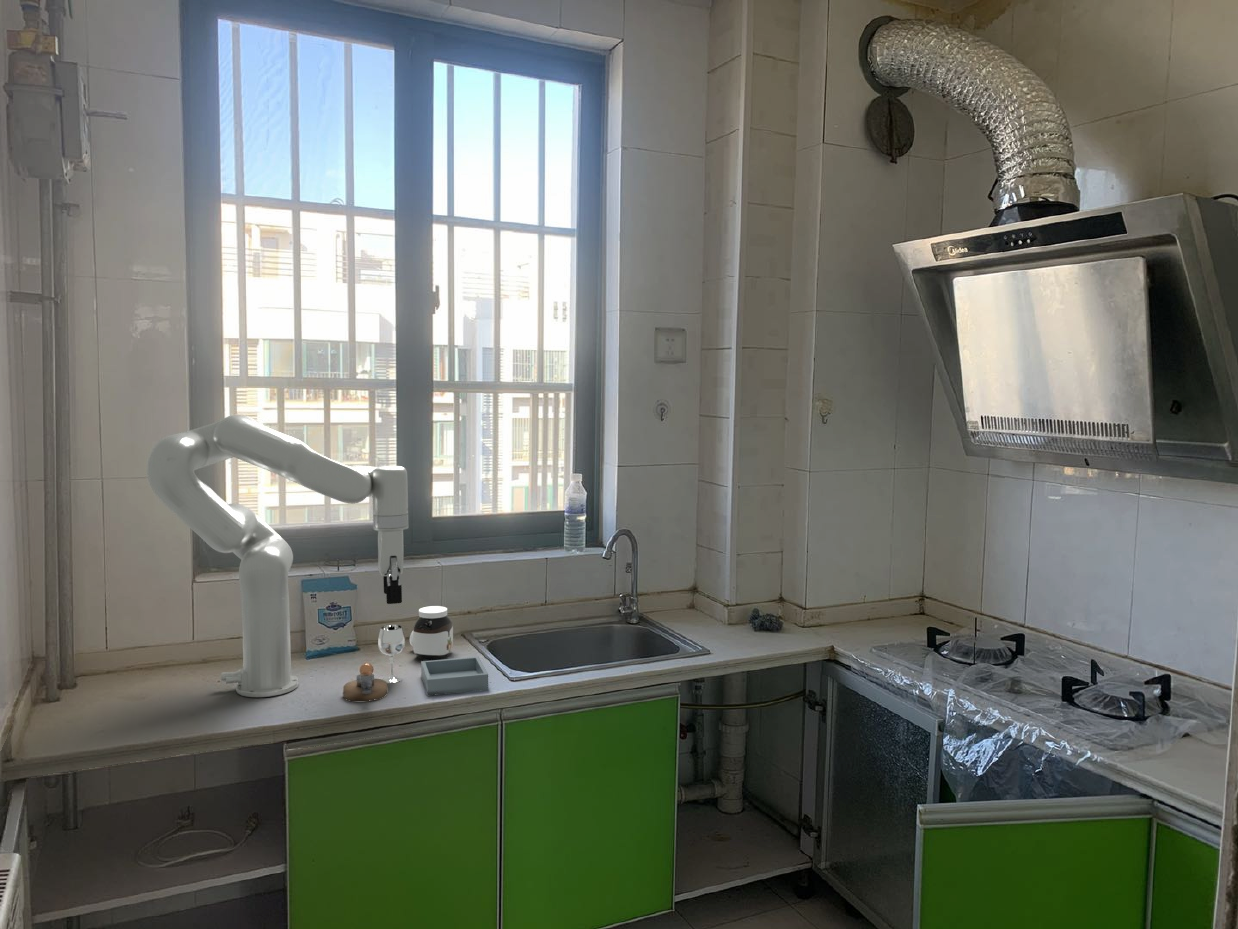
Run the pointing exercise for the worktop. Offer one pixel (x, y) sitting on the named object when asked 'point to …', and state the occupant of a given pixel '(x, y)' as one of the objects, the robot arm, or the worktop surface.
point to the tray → (454, 675)
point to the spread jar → (432, 634)
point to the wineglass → (391, 646)
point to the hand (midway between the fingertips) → (392, 598)
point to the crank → (366, 678)
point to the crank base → (355, 694)
